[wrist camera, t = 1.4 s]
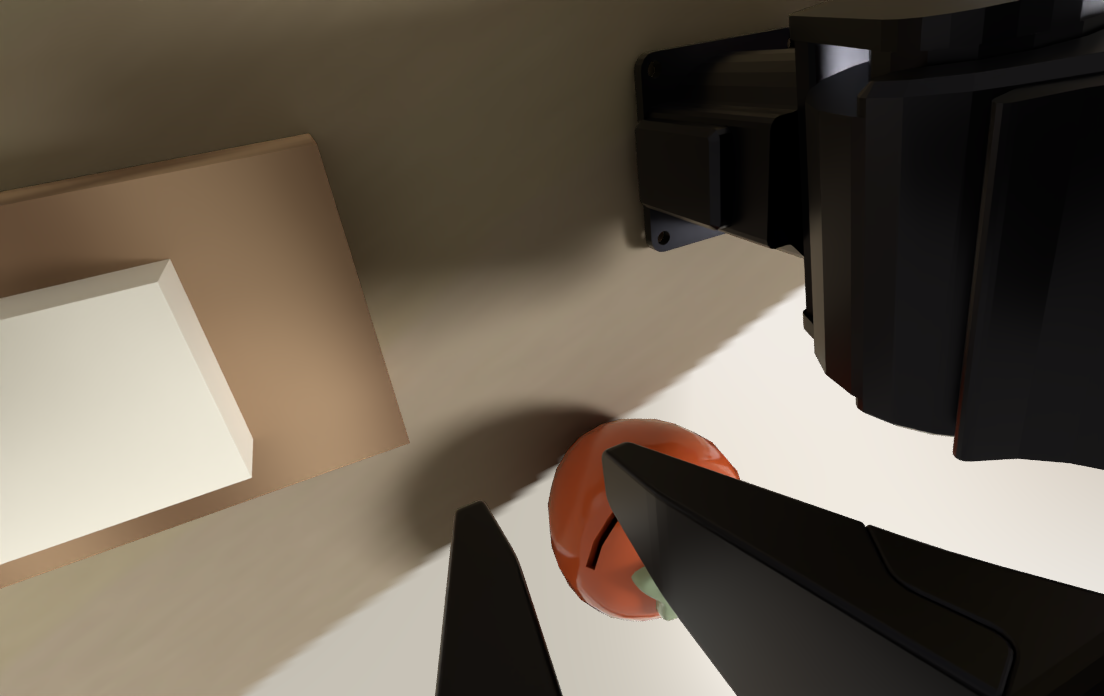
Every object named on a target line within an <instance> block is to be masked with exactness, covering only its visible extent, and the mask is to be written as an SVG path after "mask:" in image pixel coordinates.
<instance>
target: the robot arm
mask: <svg viewBox="0 0 1104 696" xmlns="http://www.w3.org/2000/svg"><path fill="white" fill-rule="evenodd" d="M789 38H790V42H791V43H790V47H789V48H788V46H787V42H788V39H789ZM650 62H652V63H653V64H654V67H655V71H654V74H653V75H652V77H650V76H649V74H648V66H649V64H650ZM634 75H635V90H636V104H637V119H638V124H637V126H636V128H635V138H636V152H637V166H638V180H639V194H640V201H641V203H643V206H644V220H645V235H646V242H647V244H648V246H649V247H650V248H652V249H655V250H657V251H659V252H664V251H668V250H671V249H674V248H678V247H681V246H685V245H688V244H691V243H695V242H698V241H701V240H705V239H708V238H711V237H715V236H718V235H722V234H725V233H727V234H730V235H733V236H736V237H739V238H741V239H744V240H747V241H750V242H753V243H756V244H759V245H762V246H765V247H768V248H771V249H777V250H780V251H783V252H786V253H789V254H792V255H795V256H798V257H800V258H803V259H804V268H805V290H806V309H805V310H804V311H803V325H804V329H805V330H806V331H807V332H808V333H809V335H810V336H811V337H812V338H813V339H814V349H815V355H816V357H817V359H818V361H819V362H820V364H821V366H822V368H823V370H824V372H825V374H826V375H827V376H828V377H830V378H831V379H832V380H834V381H835V382H836V383H837V384H839V385H840V386H841V387H843V388H844V389H845V390H846V391H847V392H849V393H850V394H851V395H853V396H855V397H856V405H857V408H858V409H860V410H861V411H862V412H864V413H866V414H869V415H871V416H874V417H876V418H879V419H881V420H884V421H886V422H889V423H891V424H893V425H896V426H899V427H903V428H907V429H911V430H915V431H920V432H924V433H928V434H932V435H941V436H950V437H954V444H953V455H954V456H955V457H956V458H957V459H959V460H962V461H986V460H1002V459H1028V460H1040V461H1051V462H1063V463H1072V464H1077V465H1082V466H1087V467H1092V468H1097V469H1102V470H1104V0H829V1H827V2H824V3H821V4H818V5H815V6H812V7H809V8H806V9H804V10H801V11H798V12H795V13H792V14H790V15H789V27H784V28H778V29H773V30H767V31H761V32H756V33H750V34H745V35H739V36H734V37H728V38H723V39H717V40H711V41H706V42H700V43H695V44H689V45H684V46H678V47H673V48H667V49H662V50H656V51H650V52H646V53H644V54H642V55H641V56H640V57H639V58H638V59H637V61H636V64H635V70H634ZM661 232H663V233H664V236H663V239H662V240H661V241H660V242H658V236H659V234H660V233H661ZM602 467H603V475H604V483H605V490H606V497H607V500H608V503H609V505H610V508H611V510H612V511H613V513H614V515H615V517H616V518H617V520H618V522H619V523H620V525H621V527H622V528H623V530H624V532H625V534H626V535H627V537H628V539H629V540H630V542H631V544H632V545H633V547H634V549H635V551H636V552H637V554H638V556H639V557H640V559H641V561H642V562H643V564H644V566H645V568H646V569H647V571H648V573H649V574H650V576H651V578H652V579H653V581H654V583H655V584H656V586H657V588H658V589H659V591H660V592H661V594H662V596H663V597H664V599H665V600H666V601H667V603H668V604H669V606H670V607H671V608H672V610H673V611H674V613H675V614H676V615H677V617H678V618H679V619H680V621H681V622H682V623H683V624H684V626H685V627H686V629H687V630H688V631H689V632H690V634H691V635H692V637H693V638H694V639H695V641H696V642H697V643H698V645H699V646H700V647H701V648H702V650H703V651H704V652H705V654H706V655H707V656H708V658H709V659H710V660H711V662H712V663H713V664H714V666H715V667H716V668H717V670H718V671H719V672H720V674H721V675H722V676H723V678H724V679H725V680H726V682H727V683H728V684H729V686H730V687H731V688H732V690H733V691H734V692H735V694H736V695H737V696H1104V594H1101V593H1098V592H1094V591H1091V590H1087V589H1083V588H1080V587H1075V586H1072V585H1068V584H1064V583H1061V582H1057V581H1053V580H1050V579H1046V578H1043V577H1039V576H1035V575H1032V574H1028V573H1024V572H1020V571H1017V570H1013V569H1010V568H1006V567H1002V566H999V565H995V564H992V563H988V562H985V561H981V560H977V559H975V558H971V557H968V556H964V555H961V554H957V553H954V552H950V551H947V550H944V549H941V548H938V547H935V546H931V545H929V544H926V543H922V542H919V541H916V540H913V539H910V538H907V537H904V536H901V535H898V534H895V533H892V532H889V531H887V530H884V529H881V528H878V527H875V526H872V525H868V526H866V527H865V525H864V524H863V523H862V522H860V521H857V520H854V519H851V518H848V517H845V516H843V515H840V514H837V513H834V512H831V511H828V510H825V509H822V508H819V507H817V506H814V505H811V504H808V503H804V502H802V501H799V500H796V499H793V498H791V497H788V496H785V495H782V494H779V493H776V492H773V491H770V490H767V489H765V488H761V487H759V486H756V485H753V484H750V483H747V482H744V481H741V480H739V479H736V478H733V477H730V476H727V475H724V474H721V473H718V472H715V471H713V470H710V469H707V468H704V467H701V466H698V465H695V464H692V463H689V462H687V461H684V460H681V459H678V458H675V457H672V456H669V455H666V454H663V453H661V452H658V451H655V450H652V449H649V448H646V447H643V446H640V445H637V444H635V443H631V442H623V443H621V444H618V445H616V446H613V447H611V448H608V449H606V450H605V451H604V452H603V453H602ZM435 696H563V695H562V692H561V689H560V685H559V682H558V680H557V676H556V674H555V670H554V667H553V664H552V661H551V658H550V655H549V652H548V649H547V645H546V642H545V639H544V636H543V633H542V630H541V627H540V624H539V621H538V618H537V615H536V612H535V609H534V605H533V602H532V600H531V596H530V593H529V590H528V587H527V584H526V581H525V578H524V575H523V572H522V569H521V566H520V563H519V561H518V558H517V556H516V554H515V552H514V550H513V548H512V547H511V545H510V543H509V542H508V540H507V538H506V537H505V535H504V533H503V531H502V530H501V528H500V526H499V525H498V523H497V521H496V520H495V518H494V516H493V514H492V513H491V511H490V509H489V508H488V506H487V504H486V503H485V502H484V501H482V500H478V501H475V502H473V503H470V504H468V505H465V506H463V507H460V508H458V509H457V510H456V511H455V513H454V519H453V529H452V539H451V548H450V558H449V568H448V578H447V587H446V596H445V606H444V617H443V625H442V635H441V645H440V655H439V664H438V674H437V683H436V693H435Z"/></svg>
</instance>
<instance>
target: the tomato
mask: <svg viewBox="0 0 1104 696" xmlns="http://www.w3.org/2000/svg"><path fill="white" fill-rule="evenodd" d="M623 442H631V443H635V444H637V445H640V446H643V447H646V448H649V449H652V450H655V451H658V452H661V453H663V454H666V455H669V456H672V457H675V458H678V459H681V460H684V461H687V462H689V463H692V464H695V465H698V466H701V467H704V468H707V469H710V470H713V471H715V472H718V473H721V474H724V475H727V476H730V477H733V478H736V479H739V480H740V478H739V475H738V472H737V470H736V469H735V468H734V467H733V466H732V465H731V463H730V462H729V461H728V460H727V459H726V458H725V456H724V455H723V454H722V453H721V452H720V451H719V450H718V448H717V447H716V446H715V445H714V444H713V443H712V442H711V441H709V440H707V439H705V438H703V437H702V436H700V435H698V434H696V433H694V432H692V431H690V430H688V429H685V428H683V427H681V426H678V425H676V424H673V423H669V422H665V421H661V420H657V419H619V420H615V421H612V422H609V423H605V424H602V425H599V426H598V427H596V428H594V429H592V430H590V431H589V432H587V433H585V434H583V435H582V436H580V437H579V438H578V439H577V440H576V441H575V442H574V443H573V445H572V446H571V447H570V448H569V450H568V451H567V452H566V454H565V455H564V457H563V459H562V460H561V462H560V464H559V465H558V467H557V469H556V472H555V476H554V480H553V483H552V487H551V492H550V497H549V502H548V510H549V524H550V534H551V544H552V549H553V552H554V555H555V557H556V560H557V563H558V566H559V568H560V570H561V572H562V573H563V575H564V576H565V579H566V581H567V583H568V584H569V586H570V587H571V588H572V590H573V591H574V592H575V593H576V594H577V596H578V597H579V598H580V599H581V600H582V601H584V602H585V603H587V604H588V605H590V606H591V607H593V608H594V609H597V610H598V611H600V612H601V613H603V614H605V615H607V616H609V617H611V618H617V619H623V620H630V621H646V620H652V619H658V618H663V619H665V620H667V621H670V620H674V619H676V618H678V617H677V615H676V614H675V613H674V611H673V610H672V608H671V607H670V606H669V604H668V603H667V601H666V600H665V599H664V597H663V596H662V594H661V592H660V591H659V589H658V588H657V586H656V584H655V583H654V581H653V579H652V578H651V576H650V574H649V573H648V571H647V569H646V568H645V566H644V564H643V562H642V561H641V559H640V557H639V556H638V554H637V552H636V551H635V549H634V547H633V545H632V544H631V542H630V540H629V539H628V537H627V535H626V534H625V532H624V530H623V528H622V527H621V525H620V523H619V522H618V520H617V518H616V517H615V515H614V513H613V511H612V510H611V508H610V505H609V503H608V500H607V497H606V490H605V483H604V475H603V467H602V453H603V452H604V451H605V450H606V449H608V448H611V447H613V446H616V445H618V444H621V443H623Z"/></svg>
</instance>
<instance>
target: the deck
mask: <svg viewBox="0 0 1104 696" xmlns="http://www.w3.org/2000/svg"><path fill="white" fill-rule="evenodd" d="M166 259H170V260H171V262H172V264H173V267H174V269H175V271H176V273H177V275H178V277H179V280H180V282H181V284H182V286H183V288H184V290H185V293H186V295H187V297H188V299H189V301H190V303H191V306H192V308H193V310H194V312H195V314H196V316H197V319H198V321H199V323H200V325H201V327H202V329H203V332H204V334H205V336H206V338H207V340H208V342H209V345H210V347H211V349H212V351H213V353H214V355H215V358H216V360H217V362H218V364H219V366H220V368H221V371H222V373H223V375H224V377H225V379H226V381H227V384H228V386H229V388H230V390H231V392H232V394H233V397H234V399H235V401H236V403H237V405H238V407H239V410H240V412H241V414H242V416H243V418H244V420H245V423H246V425H247V427H248V429H249V431H250V433H251V436H252V438H253V455H252V478H249V479H247V480H244V481H241V482H238V483H235V484H232V485H229V486H226V487H223V488H221V489H218V490H215V491H212V492H209V493H206V494H203V495H200V496H197V497H195V498H192V499H189V500H186V501H183V502H180V503H177V504H174V505H171V506H168V507H166V508H163V509H160V510H157V511H154V512H151V513H148V514H145V515H142V516H140V517H137V518H134V519H131V520H128V521H125V522H122V523H119V524H116V525H114V526H111V527H108V528H105V529H102V530H99V531H96V532H93V533H90V534H88V535H85V536H82V537H79V538H76V539H73V540H70V541H67V542H64V543H61V544H59V545H56V546H53V547H50V548H47V549H44V550H41V551H38V552H35V553H33V554H30V555H27V556H24V557H21V558H18V559H15V560H12V561H9V562H7V563H4V564H1V565H0V589H1V588H3V587H6V586H9V585H12V584H15V583H17V582H20V581H23V580H26V579H29V578H32V577H34V576H37V575H40V574H43V573H46V572H48V571H51V570H54V569H57V568H60V567H62V566H65V565H68V564H71V563H74V562H77V561H79V560H82V559H85V558H88V557H91V556H93V555H96V554H99V553H102V552H105V551H107V550H110V549H113V548H116V547H119V546H121V545H124V544H127V543H130V542H133V541H136V540H138V539H141V538H144V537H147V536H150V535H152V534H155V533H158V532H161V531H164V530H166V529H169V528H172V527H175V526H178V525H181V524H183V523H186V522H189V521H192V520H195V519H197V518H200V517H203V516H206V515H209V514H211V513H214V512H217V511H220V510H223V509H225V508H228V507H231V506H234V505H237V504H240V503H242V502H245V501H248V500H251V499H254V498H256V497H259V496H262V495H265V494H268V493H270V492H273V491H276V490H279V489H282V488H285V487H287V486H290V485H293V484H296V483H299V482H301V481H304V480H307V479H310V478H313V477H315V476H318V475H321V474H324V473H327V472H329V471H332V470H335V469H338V468H341V467H344V466H346V465H349V464H352V463H355V462H358V461H360V460H363V459H366V458H369V457H372V456H374V455H377V454H380V453H383V452H386V451H388V450H391V449H394V448H397V447H400V446H403V445H405V444H408V443H410V442H409V438H408V435H407V432H406V429H405V426H404V422H403V419H402V416H401V413H400V410H399V406H398V403H397V400H396V397H395V393H394V390H393V387H392V384H391V381H390V377H389V374H388V371H387V368H386V365H385V361H384V358H383V355H382V352H381V349H380V345H379V342H378V339H377V336H376V332H375V329H374V326H373V323H372V320H371V316H370V313H369V310H368V307H367V304H366V300H365V297H364V294H363V291H362V287H361V284H360V281H359V278H358V275H357V271H356V268H355V265H354V262H353V259H352V255H351V252H350V249H349V246H348V242H347V239H346V236H345V233H344V230H343V226H342V223H341V220H340V217H339V214H338V210H337V207H336V204H335V201H334V197H333V194H332V191H331V188H330V185H329V181H328V178H327V175H326V172H325V169H324V165H323V162H322V159H321V156H320V152H319V149H318V146H317V143H316V142H315V141H314V139H313V138H312V137H311V135H310V134H309V133H307V134H302V135H297V136H292V137H286V138H281V139H276V140H271V141H265V142H260V143H255V144H250V145H244V146H239V147H234V148H228V149H223V150H218V151H213V152H207V153H202V154H197V155H192V156H186V157H181V158H176V159H171V160H165V161H160V162H155V163H149V164H144V165H139V166H134V167H128V168H123V169H118V170H113V171H107V172H102V173H97V174H91V175H86V176H81V177H76V178H70V179H65V180H60V181H55V182H49V183H44V184H39V185H34V186H28V187H23V188H18V189H12V190H7V191H2V192H0V298H4V297H8V296H13V295H17V294H21V293H25V292H30V291H34V290H38V289H43V288H47V287H51V286H55V285H60V284H64V283H68V282H72V281H77V280H81V279H85V278H89V277H94V276H98V275H102V274H107V273H111V272H115V271H119V270H124V269H128V268H132V267H136V266H141V265H145V264H149V263H153V262H158V261H162V260H166Z"/></svg>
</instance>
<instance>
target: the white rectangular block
mask: <svg viewBox="0 0 1104 696" xmlns="http://www.w3.org/2000/svg"><path fill="white" fill-rule="evenodd" d="M252 455H253V438H252V436H251V433H250V431H249V429H248V427H247V425H246V423H245V420H244V418H243V416H242V414H241V412H240V410H239V407H238V405H237V403H236V401H235V399H234V397H233V394H232V392H231V390H230V388H229V386H228V384H227V381H226V379H225V377H224V375H223V373H222V371H221V368H220V366H219V364H218V362H217V360H216V358H215V355H214V353H213V351H212V349H211V347H210V345H209V342H208V340H207V338H206V336H205V334H204V332H203V329H202V327H201V325H200V323H199V321H198V319H197V316H196V314H195V312H194V310H193V308H192V306H191V303H190V301H189V299H188V297H187V295H186V293H185V290H184V288H183V286H182V284H181V282H180V280H179V277H178V275H177V273H176V271H175V269H174V267H173V264H172V262H171V260H170V259H166V260H162V261H158V262H153V263H149V264H145V265H141V266H136V267H132V268H128V269H124V270H119V271H115V272H111V273H107V274H102V275H98V276H94V277H89V278H85V279H81V280H77V281H72V282H68V283H64V284H60V285H55V286H51V287H47V288H43V289H38V290H34V291H30V292H25V293H21V294H17V295H13V296H8V297H4V298H0V565H1V564H4V563H7V562H9V561H12V560H15V559H18V558H21V557H24V556H27V555H30V554H33V553H35V552H38V551H41V550H44V549H47V548H50V547H53V546H56V545H59V544H61V543H64V542H67V541H70V540H73V539H76V538H79V537H82V536H85V535H88V534H90V533H93V532H96V531H99V530H102V529H105V528H108V527H111V526H114V525H116V524H119V523H122V522H125V521H128V520H131V519H134V518H137V517H140V516H142V515H145V514H148V513H151V512H154V511H157V510H160V509H163V508H166V507H168V506H171V505H174V504H177V503H180V502H183V501H186V500H189V499H192V498H195V497H197V496H200V495H203V494H206V493H209V492H212V491H215V490H218V489H221V488H223V487H226V486H229V485H232V484H235V483H238V482H241V481H244V480H247V479H249V478H252Z"/></svg>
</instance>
